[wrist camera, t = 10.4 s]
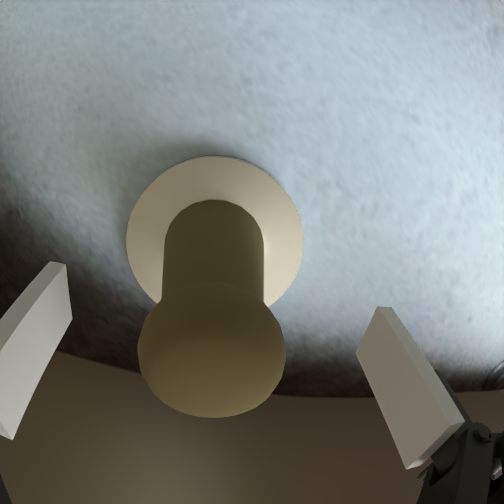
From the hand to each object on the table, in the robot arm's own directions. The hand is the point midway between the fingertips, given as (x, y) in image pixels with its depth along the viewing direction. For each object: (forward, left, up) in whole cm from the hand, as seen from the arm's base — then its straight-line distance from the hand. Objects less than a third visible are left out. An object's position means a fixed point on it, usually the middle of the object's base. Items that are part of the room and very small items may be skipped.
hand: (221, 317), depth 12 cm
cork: (0, 0, -8) cm, 8 cm away
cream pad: (0, 0, -9) cm, 9 cm away
